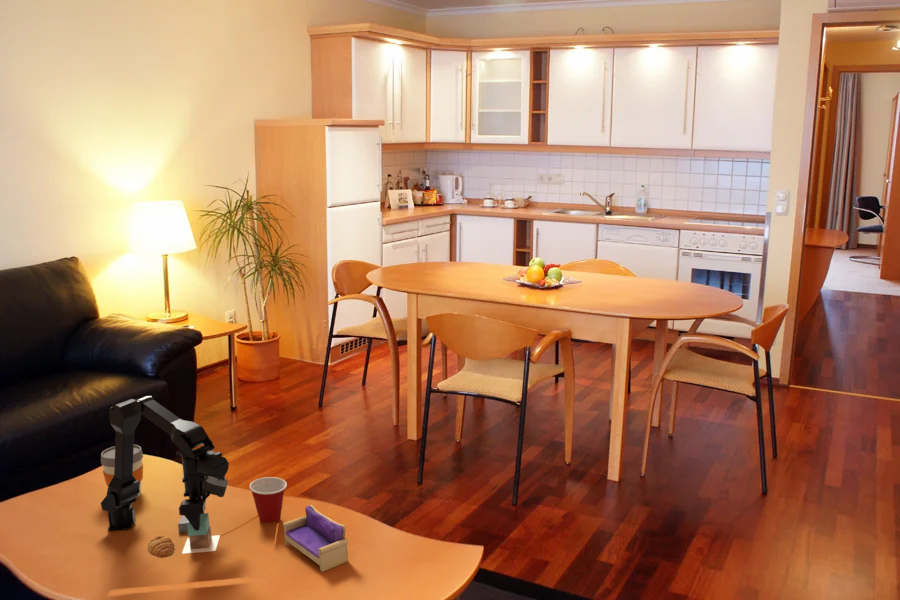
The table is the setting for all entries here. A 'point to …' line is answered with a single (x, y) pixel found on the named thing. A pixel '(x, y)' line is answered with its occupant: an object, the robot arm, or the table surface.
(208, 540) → the walnut brick
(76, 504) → the table surface
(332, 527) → the toy sofa
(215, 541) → the base plate
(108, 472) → the reusable coffee cup
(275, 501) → the plastic cup
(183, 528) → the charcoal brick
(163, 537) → the pastry
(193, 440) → the robot arm
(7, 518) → the table surface
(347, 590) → the table surface
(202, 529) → the teal brick
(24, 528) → the table surface
